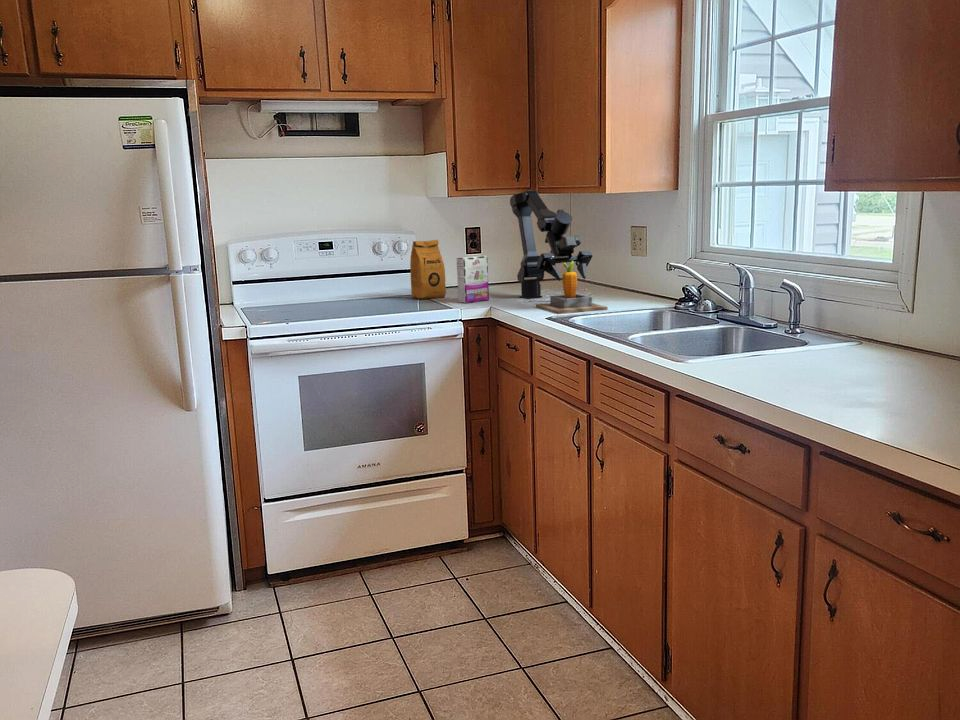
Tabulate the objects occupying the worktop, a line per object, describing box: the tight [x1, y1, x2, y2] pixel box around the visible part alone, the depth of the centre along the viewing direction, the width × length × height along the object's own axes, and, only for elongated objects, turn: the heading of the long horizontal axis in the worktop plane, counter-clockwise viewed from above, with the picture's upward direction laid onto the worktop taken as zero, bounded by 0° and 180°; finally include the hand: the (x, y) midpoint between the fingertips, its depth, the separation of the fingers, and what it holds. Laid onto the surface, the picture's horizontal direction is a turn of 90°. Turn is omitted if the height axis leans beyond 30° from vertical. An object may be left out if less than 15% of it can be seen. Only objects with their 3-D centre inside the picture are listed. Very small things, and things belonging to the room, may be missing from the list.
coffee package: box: [409, 239, 447, 300], centre depth 318 cm, size 10×12×22 cm
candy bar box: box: [455, 255, 490, 304], centre depth 305 cm, size 11×5×16 cm, turn 130°
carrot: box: [561, 261, 578, 299], centre depth 281 cm, size 5×5×15 cm
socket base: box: [535, 293, 608, 315], centre depth 282 cm, size 18×18×4 cm
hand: (572, 279), depth 279 cm, fingers open, 9 cm apart
